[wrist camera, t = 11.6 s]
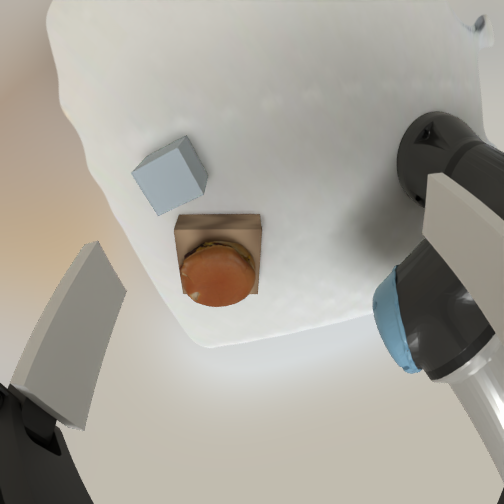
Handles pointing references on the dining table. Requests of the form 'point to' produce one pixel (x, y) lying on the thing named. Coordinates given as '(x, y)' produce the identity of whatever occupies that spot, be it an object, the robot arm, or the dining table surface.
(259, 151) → the dining table surface
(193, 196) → the slate cube
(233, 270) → the burger
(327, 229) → the dining table surface
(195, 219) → the walnut block
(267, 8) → the dining table surface
